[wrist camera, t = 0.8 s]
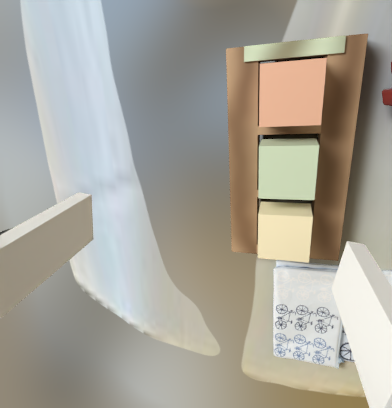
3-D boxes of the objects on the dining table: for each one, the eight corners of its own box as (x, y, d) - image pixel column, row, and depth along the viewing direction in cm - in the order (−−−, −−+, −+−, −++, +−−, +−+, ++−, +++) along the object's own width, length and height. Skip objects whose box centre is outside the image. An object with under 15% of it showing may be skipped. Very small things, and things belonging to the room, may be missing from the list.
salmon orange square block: (322, 59, 30) (326, 57, 27) (317, 120, 33) (321, 125, 29) (262, 65, 32) (259, 63, 28) (262, 122, 34) (259, 127, 31)
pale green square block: (315, 138, 33) (319, 145, 30) (311, 188, 36) (314, 200, 32) (261, 139, 35) (258, 146, 32) (261, 186, 37) (258, 198, 34)
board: (361, 37, 31) (368, 33, 28) (334, 248, 41) (338, 261, 38) (230, 50, 35) (225, 48, 32) (235, 241, 45) (231, 252, 42)
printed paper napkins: (274, 256, 45) (273, 264, 43) (430, 269, 39) (438, 279, 37) (271, 349, 52) (271, 359, 50) (404, 371, 46) (409, 384, 44)
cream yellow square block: (310, 203, 36) (313, 216, 33) (306, 245, 39) (308, 262, 35) (260, 201, 38) (258, 214, 35) (260, 242, 40) (257, 258, 37)
